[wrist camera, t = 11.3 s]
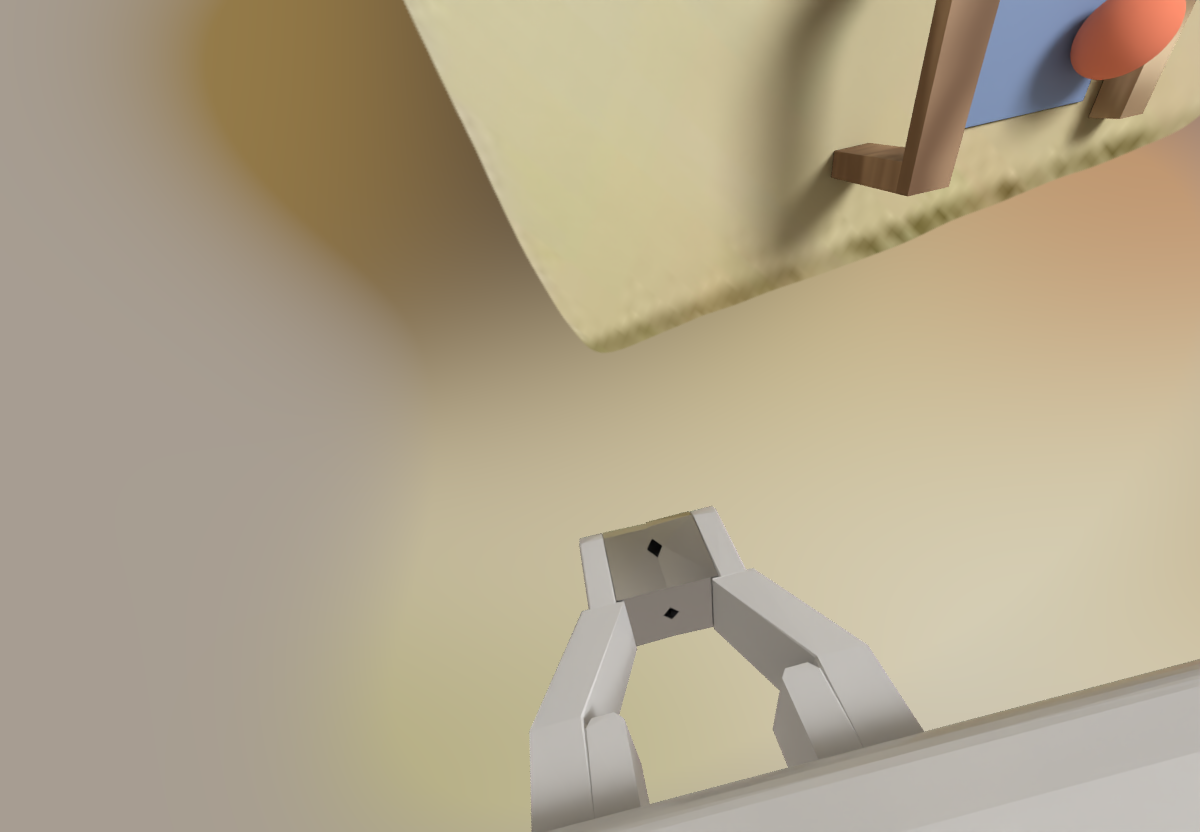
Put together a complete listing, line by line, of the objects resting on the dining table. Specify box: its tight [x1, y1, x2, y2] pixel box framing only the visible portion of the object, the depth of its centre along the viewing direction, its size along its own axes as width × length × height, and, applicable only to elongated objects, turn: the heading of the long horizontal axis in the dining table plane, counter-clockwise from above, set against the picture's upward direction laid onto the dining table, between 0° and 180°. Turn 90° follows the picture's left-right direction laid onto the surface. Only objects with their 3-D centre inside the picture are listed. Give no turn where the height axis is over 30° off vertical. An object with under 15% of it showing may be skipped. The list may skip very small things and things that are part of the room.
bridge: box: [831, 0, 1000, 196], centre depth 30 cm, size 3×16×9 cm, turn 10°
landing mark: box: [965, 0, 1107, 128], centre depth 33 cm, size 13×13×1 cm
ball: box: [1070, 0, 1186, 80], centre depth 33 cm, size 6×6×6 cm
